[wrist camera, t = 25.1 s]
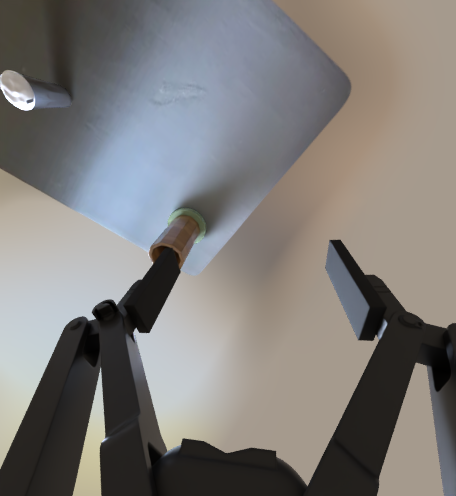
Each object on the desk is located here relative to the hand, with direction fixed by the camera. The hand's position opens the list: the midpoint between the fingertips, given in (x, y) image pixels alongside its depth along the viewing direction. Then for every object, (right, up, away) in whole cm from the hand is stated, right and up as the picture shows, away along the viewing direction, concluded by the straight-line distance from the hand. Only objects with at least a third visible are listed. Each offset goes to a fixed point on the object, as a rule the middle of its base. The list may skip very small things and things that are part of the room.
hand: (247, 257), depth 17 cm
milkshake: (-31, +28, +19) cm, 46 cm away
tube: (-11, +5, +29) cm, 31 cm away
